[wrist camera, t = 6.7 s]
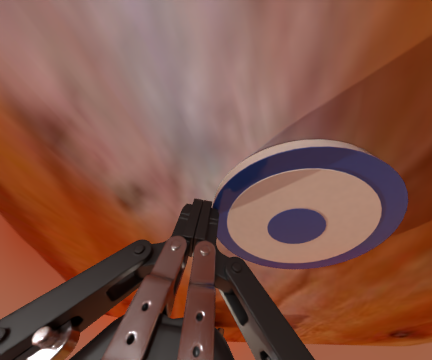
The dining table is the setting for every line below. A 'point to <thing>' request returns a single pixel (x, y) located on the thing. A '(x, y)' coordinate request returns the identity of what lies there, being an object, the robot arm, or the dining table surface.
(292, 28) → the dining table surface
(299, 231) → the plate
